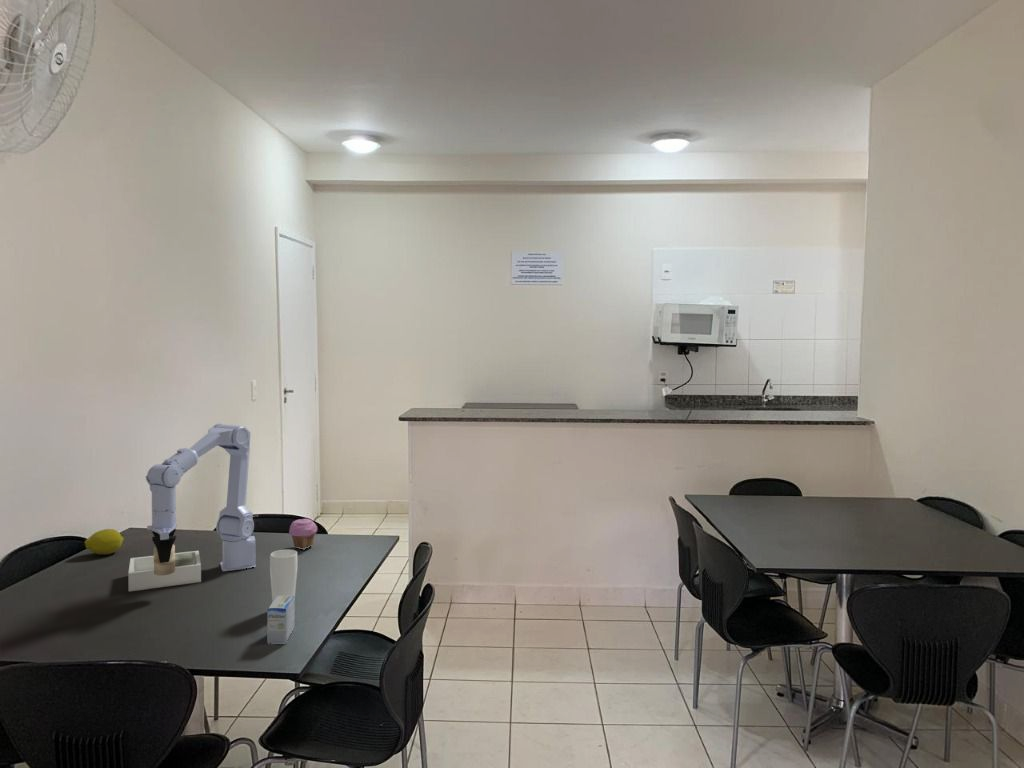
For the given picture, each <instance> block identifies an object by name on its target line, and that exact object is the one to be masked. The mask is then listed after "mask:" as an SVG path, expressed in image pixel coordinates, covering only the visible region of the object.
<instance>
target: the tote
mask: <svg viewBox="0 0 1024 768" xmlns="http://www.w3.org/2000/svg"><path fill="white" fill-rule="evenodd" d="M189 553H192V565H186V566H178V567H175V572H174V573H172V574H168V575H155V574H154V555H149V556H139V557H138V556H137V557H130V560H129V565H128V566H129V568H128V578H127V579H128V583H127V584H128V592H135V591H144V590H149V589H150V590H151V589H157V588H164V587H165V588H166V587H171V586H172V587H173V586H180V585H188V584H189V585H190V584H194V583H201V582H202V562H201V557H200V551H199V550H195V551H194V550H193V551H183V552H175V555H181V554H189Z"/></svg>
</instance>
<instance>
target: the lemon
mask: <svg viewBox="0 0 1024 768" xmlns="http://www.w3.org/2000/svg"><path fill="white" fill-rule="evenodd" d="M124 540H125V538H124V537H123V536H122V535H121V533H120V532H119V531H118V530H116V529H112V528H111V529H110V528H106V529H102V530H98V531H96V532H94V533H93V534H92V535H91V536H89V537H88V538H87V539H85V540H84V546H85V548H86V549H88V550H89V551H90V552H92V553H94V554H96V555H101V556H105V555H111V554H114V553H115V552H116V551H118V550H119V549H120V548H121V546H122V544H123V542H124Z"/></svg>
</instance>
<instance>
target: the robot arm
mask: <svg viewBox="0 0 1024 768" xmlns="http://www.w3.org/2000/svg"><path fill="white" fill-rule="evenodd" d="M250 442H251V431H250V430H249V429H248V428H247V427H246V426H245V425H233V424H222V423H216V424H214V425H213V426H212V427H210V428H208V432H207V433H206V434H205V435H204V436H203V437H202V438H200V439H199V440H198V441H197V442H195V443H194V444H193V445H192V446H191V447H189V448H187V447H184V448H178V449H177V450H176V453H174V454H173V455H172V456H170V457H168V458H166V459H164V460H163V462H162V463H156V464H153V465H152V466H151V467H150V468H149V469H148V471H147V475H146V476H145V480H146V482H147V483H148V485H149V491H150V492H151V525H147V527H146V529H147V531H152V535H153V536H152V537H151V538H152V542H153V544H154V545H155V546H156V548H157V552H158V557H159V561H160V563H164V562H169V560H170V555H171V549H172V546H173V544H174V543H175V542H176V539H177V535H174V534H175V532H176V531H177V528H178V524H177V496H176V495H177V494H176V493H177V489H176V488H177V487H176V486H177V485H178V484H179V483H180V481H181V479H182V478H183V476H184V474H186V473H187V472H188V471H189V470H191V469H192V468H193V467H195V466H196V465H197V464H198V462H199V461H198V459H199V458H200V457H202V456H203V455H205V454H207V453H208V452H209V451H212V449H214V448H215V447H219V448H222V449H224V450H225V451H226V452H227V454H229V469H228V481H227V482H228V483H227V493H226V494H227V495H226V506H225V507H224V508H223V509H221V510H220V511H219V514H218V515H219V516H218V519H217V522H216V524H215V525H216V526H215V530H216V532H217V533H218V534H219V535H220V539H222V543H221V544H222V561H221V562H220V563H219V565H220V568H221V571H222V572H229V571H237V570H245V569H246V568H247V569H253V568H252V567H254V568H256V567H257V566H256V565H257V564H256V562H257V561H256V559H257V553H256V550H257V549H256V537H255V535H252V534H253V532H254V529H255V523H254V519H253V516H254V514H253V512H252V511H251V509H249V508H248V507H247V503H246V502H247V493H248V491H247V490H248V479H249V476H248V475H249V465H250V454H251V453H250V452H251V451H250V449H251V448H250V444H251V443H250ZM155 546H154V547H155Z"/></svg>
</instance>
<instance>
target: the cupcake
mask: <svg viewBox="0 0 1024 768" xmlns="http://www.w3.org/2000/svg"><path fill="white" fill-rule="evenodd" d="M288 530H289V531H288V533H289V535H290V536H291V538H292V542H293V546H294V548H295V547H300V548H305V547H308V546H310V545H313V546H314V539H315V535H316V534H317V532H318V526H317V524H316V523H315V522H314V521H312V519H309V518H302V519H300V518H299V519H296V520H293V521H292V522H291V524H290V526H289V529H288Z"/></svg>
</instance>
